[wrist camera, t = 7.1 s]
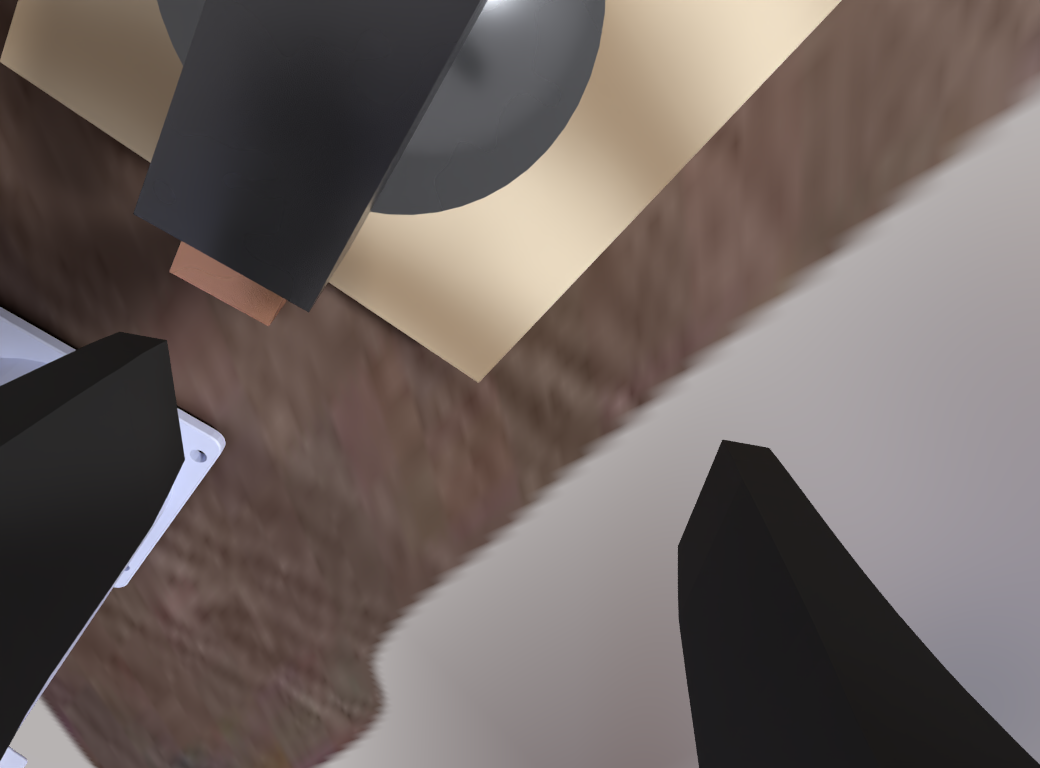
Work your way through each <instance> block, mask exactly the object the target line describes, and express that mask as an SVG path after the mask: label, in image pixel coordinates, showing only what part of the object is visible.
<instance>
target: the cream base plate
mask: <svg viewBox="0 0 1040 768" xmlns="http://www.w3.org/2000/svg"><path fill="white" fill-rule="evenodd" d="M840 1H841V0H605V16H604V22H603V28H602V34H601V40H600V46H599V50H598V53H597V56H596V60H595V63H594V67H593V70H592V74H591V77H590V79H589V82H588V84H587V86H586V88H585V91H584V93H583V95H582V98H581V100H580V102H579V105H578V106H577V108H576V110H575V111H574V113H573V115H572V116H571V118H570V120H569V122H568V123H567V125H566V127H565V128H564V130H563V131H562V132H561V134H560V135H559V136H558V137H557V139H556V140H555V141H554V143H553V144H552V145H551V146H550V148H549V149H548V150H547V151H546V152H545V153H544V154H543V155H542V156H541V157H540V158H539V159H538V160H537V161H536V162H535V163H534V164H533V165H532V166H531V167H530V168H529V169H528V170H527V171H525V172H524V173H523V174H521V175H520V176H519V177H517V178H516V179H515V180H513V181H512V182H511V183H509V184H508V185H507V186H505V187H503V188H501V189H499V190H498V191H496V192H494V193H492V194H490V195H488V196H487V197H485V198H482V199H480V200H477V201H475V202H472V203H469V204H467V205H464V206H462V207H458V208H453V209H449V210H445V211H441V212H436V213H427V214H417V215H391V214H382V213H375V212H370V213H369V215H368V217H367V218H366V220H365V222H364V224H363V226H362V227H361V229H360V231H359V233H358V235H357V236H356V238H355V240H354V242H353V244H352V245H351V247H350V249H349V251H348V252H347V254H346V255H345V257H344V258H343V260H342V262H341V263H340V265H339V266H338V268H337V269H336V271H335V272H334V274H333V276H332V277H331V279H330V280H329V283H331V284H332V285H334V286H335V287H337V288H338V289H339V290H341V291H342V292H344V293H345V294H347V295H348V296H350V297H351V298H353V299H354V300H356V301H357V302H359V303H360V304H362V305H363V306H365V307H366V308H368V309H369V310H371V311H372V312H374V313H375V314H377V315H378V316H380V317H381V318H383V319H384V320H386V321H387V322H389V323H390V324H392V325H393V326H395V327H396V328H398V329H399V330H401V331H402V332H404V333H405V334H407V335H408V336H410V337H411V338H413V339H414V340H416V341H417V342H419V343H420V344H422V345H423V346H425V347H426V348H427V349H429V350H430V351H432V352H433V353H435V354H436V355H438V356H439V357H441V358H442V359H444V360H445V361H447V362H448V363H450V364H451V365H453V366H454V367H456V368H457V369H459V370H460V371H462V372H463V373H465V374H466V375H468V376H469V377H471V378H472V379H474V380H475V381H477V382H478V383H479V382H480V381H481V380H482V379H483V378H484V376H485V375H486V374H487V373H488V372H489V371H490V370H491V369H492V368H493V367H494V366H495V365H496V364H497V363H498V362H499V361H500V360H501V359H502V358H503V356H504V355H505V354H506V353H507V352H508V351H509V350H510V349H511V348H512V347H513V346H514V345H515V344H516V343H517V342H518V341H519V340H520V339H521V337H522V336H523V335H524V334H525V333H526V332H527V331H528V330H529V329H530V328H531V327H532V326H533V325H534V324H535V323H536V322H537V321H538V320H539V319H540V317H541V316H542V315H543V314H544V313H545V312H546V311H547V310H548V309H549V308H550V307H551V306H552V305H553V304H554V303H555V302H556V301H557V300H558V299H559V297H560V296H561V295H562V294H563V293H564V292H565V291H566V290H567V289H568V288H569V287H570V286H571V285H572V284H573V283H574V282H575V281H576V280H577V279H578V277H579V276H580V275H581V274H582V273H583V272H584V271H585V270H586V269H587V268H588V267H589V266H590V265H591V264H592V263H593V262H594V261H595V260H596V258H597V257H598V256H599V255H600V254H601V253H602V252H603V251H604V250H605V249H606V248H607V247H608V246H609V245H610V244H611V243H612V242H613V241H614V240H615V238H616V237H617V236H618V235H619V234H620V233H621V232H622V231H623V230H624V229H625V228H626V227H627V226H628V225H629V224H630V223H631V222H632V221H633V220H634V218H635V217H636V216H637V215H638V214H639V213H640V212H641V211H642V210H643V209H644V208H645V207H646V206H647V205H648V204H649V203H650V202H651V201H652V200H653V198H654V197H655V196H656V195H657V194H658V193H659V192H660V191H661V190H662V189H663V188H664V187H665V186H666V185H667V184H668V183H669V182H670V181H671V179H672V178H673V177H674V176H675V175H676V174H677V173H678V172H679V171H680V170H681V169H682V168H683V167H684V166H685V165H686V164H687V163H688V162H689V161H690V159H691V158H692V157H693V156H694V155H695V154H696V153H697V152H698V151H699V150H700V149H701V148H702V147H703V146H704V145H705V144H706V143H707V142H708V141H709V139H710V138H711V137H712V136H713V135H714V134H715V133H716V132H717V131H718V130H719V129H720V128H721V127H722V126H723V125H724V124H725V123H726V122H727V121H728V119H729V118H730V117H731V116H732V115H733V114H734V113H735V112H736V111H737V110H738V109H739V108H740V107H741V106H742V105H743V104H744V103H745V102H746V100H747V99H748V98H749V97H750V96H751V95H752V94H753V93H754V92H755V91H756V90H757V89H758V88H759V87H760V86H761V85H762V84H763V83H764V82H765V80H766V79H767V78H768V77H769V76H770V75H771V74H772V73H773V72H774V71H775V70H776V69H777V68H778V67H779V66H780V65H781V64H782V63H783V62H784V60H785V59H786V58H787V57H788V56H789V55H790V54H791V53H792V52H793V51H794V50H795V49H796V48H797V47H798V46H799V45H800V44H801V43H802V41H803V40H804V39H805V38H806V37H807V36H808V35H809V34H810V33H811V32H812V31H813V30H814V29H815V28H816V27H817V26H818V25H819V24H820V23H821V21H822V20H823V19H824V18H825V17H826V16H827V15H828V14H829V13H830V12H831V11H832V10H833V9H834V8H835V7H836V6H837V5H838V4H839V3H840ZM0 62H1V63H2V64H4V65H5V66H7V67H8V68H10V69H11V70H13V71H14V72H16V73H17V74H19V75H20V76H22V77H23V78H25V79H26V80H28V81H29V82H31V83H32V84H34V85H35V86H37V87H38V88H40V89H41V90H43V91H44V92H46V93H47V94H49V95H50V96H52V97H53V98H55V99H56V100H58V101H59V102H61V103H62V104H64V105H65V106H67V107H68V108H70V109H71V110H73V111H74V112H76V113H77V114H79V115H80V116H81V117H83V118H84V119H86V120H87V121H89V122H90V123H92V124H93V125H95V126H96V127H98V128H99V129H101V130H102V131H104V132H105V133H107V134H108V135H110V136H111V137H113V138H114V139H116V140H117V141H119V142H120V143H122V144H123V145H125V146H126V147H128V148H129V149H131V150H132V151H134V152H135V153H137V154H138V155H140V156H141V157H143V158H144V159H146V160H147V161H149V162H150V163H151V160H152V157H153V154H154V151H155V148H156V145H157V142H158V140H159V137H160V134H161V131H162V128H163V125H164V122H165V119H166V116H167V113H168V110H169V107H170V104H171V101H172V98H173V95H174V92H175V89H176V86H177V83H178V80H179V77H180V74H181V71H182V69H183V65H182V63H181V61H180V59H179V57H178V55H177V53H176V51H175V49H174V47H173V45H172V42H171V40H170V37H169V35H168V32H167V29H166V27H165V24H164V22H163V19H162V16H161V13H160V10H159V6H158V2H157V0H18V3H17V6H16V9H15V13H14V16H13V19H12V23H11V26H10V29H9V32H8V36H7V39H6V42H5V46H4V49H3V52H2V55H1V59H0Z"/></svg>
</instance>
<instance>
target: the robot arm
mask: <svg viewBox="0 0 1040 768" xmlns="http://www.w3.org/2000/svg"><path fill="white" fill-rule="evenodd" d="M225 444H226V443H225V439H224V437H223V436H222V434H221V433H219V432H218V431H217V430H215V429H213V428H212V427H210V426H208V425H206V424H205V423H203V422H201V421H199V420H198V419H196V418H194V417H192V416H191V415H189V414H187V413H185V412H184V411H182V410H180V409H178V408H177V403H176V397H175V390H174V384H173V377H172V371H171V364H170V358H169V351H168V344H167V340H162V339H157V338H151V337H146V336H140V335H134V334H129V333H123V332H118V333H115V334H113V335H110V336H108V337H105V338H103V339H100V340H98V341H96V342H93V343H91V344H89V345H87V346H84V347H82V348H80V349H78V350H75V349H73V348H72V347H70V346H68V345H66V344H65V343H63V342H61V341H59V340H58V339H56V338H54V337H52V336H51V335H49V334H47V333H45V332H44V331H42V330H40V329H38V328H37V327H35V326H33V325H31V324H30V323H28V322H26V321H24V320H23V319H21V318H19V317H17V316H16V315H14V314H12V313H10V312H9V311H7V310H5V309H3V308H2V307H0V768H24V767H25V766H26V764H27V759H26V758H25V757H24V756H22V755H20V754H19V753H17V752H16V751H14V750H13V749H12V748H11V747H10V746H9V745H10V742H11V741H12V739H13V737H14V736H15V734H16V732H17V731H18V729H19V728H20V726H21V724H22V723H23V721H24V720H25V719H26V717H27V716H28V714H29V713H30V711H31V710H32V708H33V706H34V705H35V704H36V702H37V701H38V699H39V698H40V696H41V695H42V693H43V692H44V690H45V689H46V687H47V686H48V684H49V683H50V681H51V680H52V678H53V677H54V675H55V674H56V672H57V671H58V669H59V668H60V666H61V665H62V663H63V662H64V660H65V659H66V657H67V656H68V654H69V653H70V651H71V650H72V648H73V647H74V645H75V644H76V642H77V641H78V639H79V638H80V636H81V635H82V633H83V632H84V630H85V629H86V627H87V626H88V624H89V623H90V621H91V620H92V618H93V617H94V615H95V614H96V612H97V611H98V609H99V608H100V606H101V605H102V603H103V602H104V600H105V599H106V597H107V596H108V594H109V593H110V591H111V590H112V588H113V587H117V588H119V587H124V586H126V585H127V584H128V582H129V581H130V579H131V578H132V577H133V575H134V574H135V572H136V571H137V570H138V568H139V567H140V565H141V564H142V563H143V561H144V560H145V558H146V557H147V556H148V554H149V553H150V552H151V550H152V549H153V547H154V546H155V545H156V543H157V542H158V540H159V539H160V538H161V536H162V535H163V533H164V532H165V531H166V529H167V528H168V526H169V525H170V524H171V522H172V521H173V519H174V518H175V517H176V515H177V514H178V512H179V511H180V510H181V508H182V507H183V506H184V504H185V503H186V501H187V500H188V499H189V497H190V496H191V494H192V493H193V492H194V490H195V489H196V487H197V486H198V485H199V483H200V482H201V480H202V479H203V478H204V476H205V475H206V473H207V472H208V471H209V469H210V468H211V466H212V465H213V464H214V462H215V461H216V460H217V458H218V457H219V455H220V454H221V452H222V451H223V449H224V447H225ZM198 450H200V451H202V452H203V453H205V454H203V453H201V452H199V451H198ZM678 607H679V624H680V632H681V640H682V648H683V655H684V662H685V670H686V678H687V685H688V692H689V698H690V706H691V713H692V720H693V727H694V734H695V741H696V749H697V755H698V763H699V768H1040V764H1038V762H1037V761H1035V760H1034V759H1033V758H1032V757H1031V756H1030V755H1029V754H1028V753H1027V752H1026V751H1025V750H1024V749H1023V748H1022V747H1021V746H1020V745H1019V744H1018V743H1017V742H1016V741H1015V740H1014V739H1013V738H1012V737H1011V736H1010V735H1009V734H1008V733H1007V732H1006V731H1005V730H1004V729H1003V728H1002V727H1001V726H1000V725H999V724H998V722H997V721H995V720H994V718H993V717H992V716H991V715H990V714H989V713H988V712H987V711H986V710H985V709H984V708H982V706H981V705H980V704H979V703H978V702H977V701H976V700H975V699H974V698H973V697H972V696H971V695H970V694H969V693H968V692H967V691H966V690H965V689H964V688H963V687H962V686H961V685H960V684H959V682H958V681H957V680H956V679H955V678H954V677H953V676H952V675H951V674H950V673H949V671H948V670H946V668H945V667H944V666H943V665H942V664H941V663H940V662H939V660H938V659H937V658H936V657H935V656H934V655H933V654H932V652H931V651H930V650H929V649H928V648H927V647H926V646H925V644H924V643H923V642H922V641H921V640H920V639H919V637H918V636H916V634H915V633H914V632H913V631H912V630H911V628H910V627H909V626H908V625H907V624H906V623H905V621H904V620H903V619H902V618H901V617H900V616H899V615H898V613H897V612H896V611H895V610H894V608H893V607H892V606H891V605H890V604H889V603H888V601H887V600H886V599H885V598H884V596H882V594H881V593H880V592H879V590H878V589H877V588H876V587H875V585H874V584H873V583H872V582H871V580H870V579H869V578H868V577H867V575H866V574H865V573H864V572H863V570H862V569H861V568H860V567H859V565H858V564H857V563H856V562H855V560H854V559H853V558H852V556H851V555H850V554H849V553H848V551H847V550H846V549H845V548H844V546H843V545H842V543H841V542H840V541H839V540H838V538H837V537H836V536H835V535H834V533H833V532H832V530H831V529H830V528H829V526H828V525H827V524H826V522H825V521H824V520H823V518H822V517H821V516H820V514H819V513H818V512H817V511H816V509H815V508H814V506H813V505H812V504H811V503H810V501H809V500H808V498H807V497H806V496H805V494H804V493H803V492H802V490H801V489H800V488H799V486H798V485H797V484H796V482H795V481H794V480H793V478H792V477H791V476H790V474H789V473H788V472H787V470H786V469H785V468H784V466H783V465H782V464H781V462H780V461H779V460H778V459H777V457H776V456H775V455H774V454H773V452H772V451H771V450H770V449H769V448H766V447H760V446H755V445H750V444H744V443H738V442H733V441H727V440H722V442H721V445H720V447H719V450H718V452H717V454H716V457H715V459H714V462H713V464H712V466H711V469H710V471H709V474H708V476H707V478H706V481H705V483H704V485H703V488H702V490H701V492H700V495H699V497H698V500H697V502H696V504H695V507H694V509H693V512H692V514H691V516H690V519H689V521H688V524H687V526H686V529H685V531H684V533H683V536H682V538H681V540H680V543H679V545H678Z"/></svg>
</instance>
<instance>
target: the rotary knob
mask: <svg viewBox="0 0 1040 768" xmlns="http://www.w3.org/2000/svg"><path fill="white" fill-rule="evenodd" d="M157 2H158V6H159V10H160V13H161V16H162V19H163V22H164V24H165V27H166V29H167V32H168V35H169V37H170V40H171V42H172V45H173V47H174V49H175V51H176V53H177V55H178V57H179V59H180V61H181V63H182V65H183V69H182V71H181V74H180V77H179V80H178V83H177V86H176V89H175V92H174V95H173V98H172V101H171V104H170V107H169V110H168V113H167V116H166V119H165V122H164V125H163V128H162V131H161V134H160V137H159V140H158V142H157V145H156V148H155V151H154V154H153V157H152V160H151V163H150V166H149V169H148V172H147V175H146V178H145V181H144V184H143V187H142V190H141V193H140V196H139V199H138V202H137V205H136V208H135V210H134V213H133V214H134V215H136V216H138V217H140V218H141V219H143V220H145V221H147V222H149V223H150V224H152V225H154V226H156V227H158V228H159V229H161V230H163V231H165V232H166V233H168V234H170V235H172V236H174V237H175V238H177V239H179V240H181V243H180V246H179V248H178V251H177V254H176V256H175V259H174V261H173V264H172V266H171V269H170V271H169V272H170V273H172V274H174V275H176V276H178V277H179V278H181V279H183V280H185V281H187V282H189V283H190V284H192V285H194V286H196V287H198V288H199V289H201V290H203V291H205V292H207V293H209V294H210V295H212V296H214V297H216V298H218V299H220V300H221V301H223V302H225V303H227V304H229V305H231V306H232V307H234V308H236V309H238V310H240V311H242V312H243V313H245V314H247V315H249V316H251V317H253V318H254V319H256V320H258V321H260V322H262V323H263V324H265V325H267V326H269V325H270V324H271V323H272V321H273V320H274V318H275V317H276V315H277V314H278V313H279V311H280V310H281V308H282V307H283V306H284V304H285V303H286V301H287V300H288V301H290V302H291V303H293V304H295V305H297V306H298V307H300V308H302V309H304V310H306V311H307V312H309V311H310V310H311V308H312V307H313V305H314V304H315V302H316V300H317V299H318V297H319V296H320V294H321V293H322V291H323V290H324V288H325V286H326V285H327V283H328V282H329V280H330V279H331V277H332V276H333V274H334V272H335V271H336V269H337V268H338V266H339V265H340V263H341V262H342V260H343V258H344V257H345V255H346V254H347V252H348V251H349V249H350V247H351V245H352V244H353V242H354V240H355V238H356V236H357V235H358V233H359V231H360V229H361V227H362V226H363V224H364V222H365V220H366V218H367V217H368V215H369V213H370V212H375V213H382V214H391V215H417V214H427V213H436V212H441V211H445V210H449V209H453V208H458V207H462V206H464V205H467V204H469V203H472V202H475V201H477V200H480V199H482V198H485V197H487V196H488V195H490V194H492V193H494V192H496V191H498V190H499V189H501V188H503V187H505V186H507V185H508V184H509V183H511V182H512V181H513V180H515V179H516V178H517V177H519V176H520V175H521V174H523V173H524V172H525V171H527V170H528V169H529V168H530V167H531V166H532V165H533V164H534V163H535V162H536V161H537V160H538V159H539V158H540V157H541V156H542V155H543V154H544V153H545V152H546V151H547V150H548V149H549V148H550V146H551V145H552V144H553V143H554V141H555V140H556V139H557V137H558V136H559V135H560V134H561V132H562V131H563V130H564V128H565V127H566V125H567V123H568V122H569V120H570V118H571V116H572V115H573V113H574V111H575V110H576V108H577V106H578V105H579V102H580V100H581V98H582V95H583V93H584V91H585V88H586V86H587V84H588V82H589V79H590V77H591V74H592V70H593V67H594V63H595V60H596V56H597V53H598V50H599V46H600V40H601V34H602V28H603V22H604V16H605V0H157Z"/></svg>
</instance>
